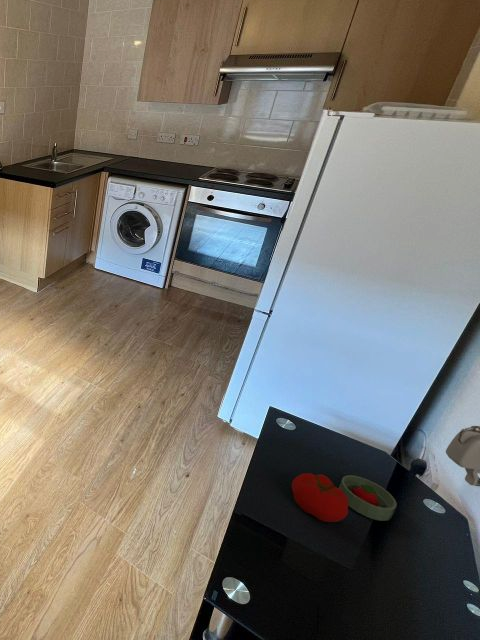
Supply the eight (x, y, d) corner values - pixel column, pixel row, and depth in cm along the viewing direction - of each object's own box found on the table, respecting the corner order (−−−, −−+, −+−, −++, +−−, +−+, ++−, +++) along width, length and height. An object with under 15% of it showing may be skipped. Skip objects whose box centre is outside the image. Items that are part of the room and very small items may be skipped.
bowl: (372, 491, 117) (377, 479, 115) (402, 526, 106) (408, 513, 105) (328, 483, 119) (333, 472, 118) (353, 517, 109) (358, 504, 107)
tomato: (338, 537, 103) (349, 510, 100) (282, 504, 112) (291, 478, 109) (347, 513, 110) (357, 488, 107) (293, 484, 118) (301, 460, 116)
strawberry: (366, 497, 114) (372, 484, 113) (376, 510, 110) (382, 496, 109) (350, 494, 115) (355, 481, 113) (359, 507, 111) (365, 493, 110)
